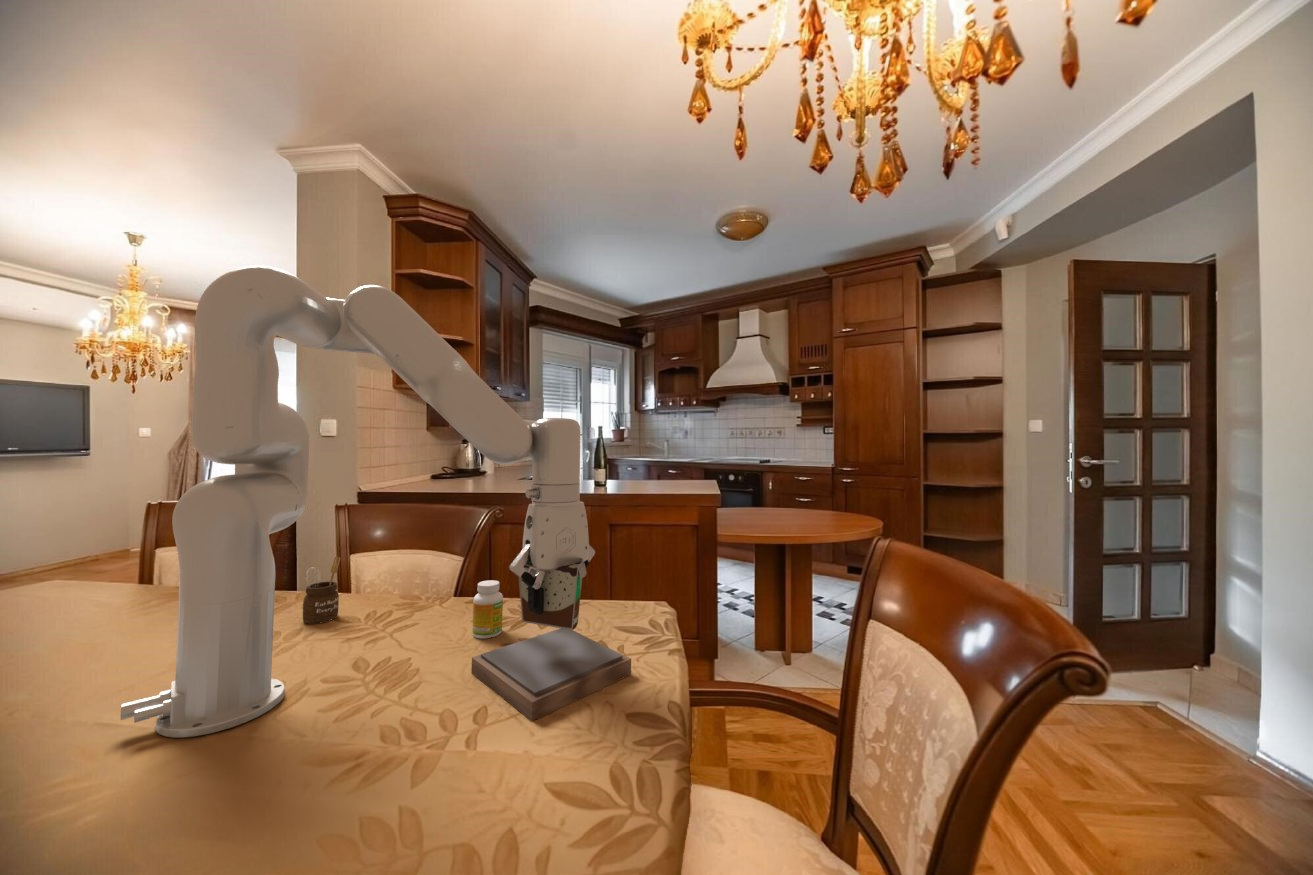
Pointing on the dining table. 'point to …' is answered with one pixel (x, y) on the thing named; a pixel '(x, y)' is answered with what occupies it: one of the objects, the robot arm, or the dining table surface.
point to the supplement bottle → (487, 610)
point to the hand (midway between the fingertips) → (554, 605)
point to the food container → (556, 597)
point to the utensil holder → (321, 599)
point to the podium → (549, 671)
